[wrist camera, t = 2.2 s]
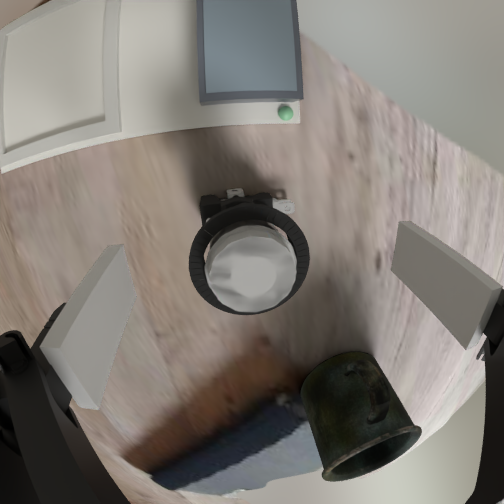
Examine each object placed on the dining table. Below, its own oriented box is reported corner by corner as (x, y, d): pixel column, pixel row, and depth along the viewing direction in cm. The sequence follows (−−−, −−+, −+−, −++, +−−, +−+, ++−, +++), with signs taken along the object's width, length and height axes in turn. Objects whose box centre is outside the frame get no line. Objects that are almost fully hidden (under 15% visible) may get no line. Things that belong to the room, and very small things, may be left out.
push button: (287, 167, 20) (349, 205, 11) (289, 236, 22) (339, 313, 13) (194, 176, 19) (176, 222, 10) (203, 246, 21) (199, 334, 12)
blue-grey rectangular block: (201, 105, 16) (199, 101, 14) (198, -27, 12) (196, -44, 9) (292, 102, 17) (303, 98, 15) (282, -26, 12) (291, -42, 10)
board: (6, 171, 16) (-2, 175, 15) (7, 28, 10) (-1, 26, 9) (296, 123, 18) (302, 123, 17) (285, -34, 12) (289, -42, 11)
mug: (296, 413, 33) (319, 489, 22) (292, 338, 27) (330, 443, 16) (370, 391, 33) (404, 457, 23) (389, 312, 27) (450, 392, 16)
